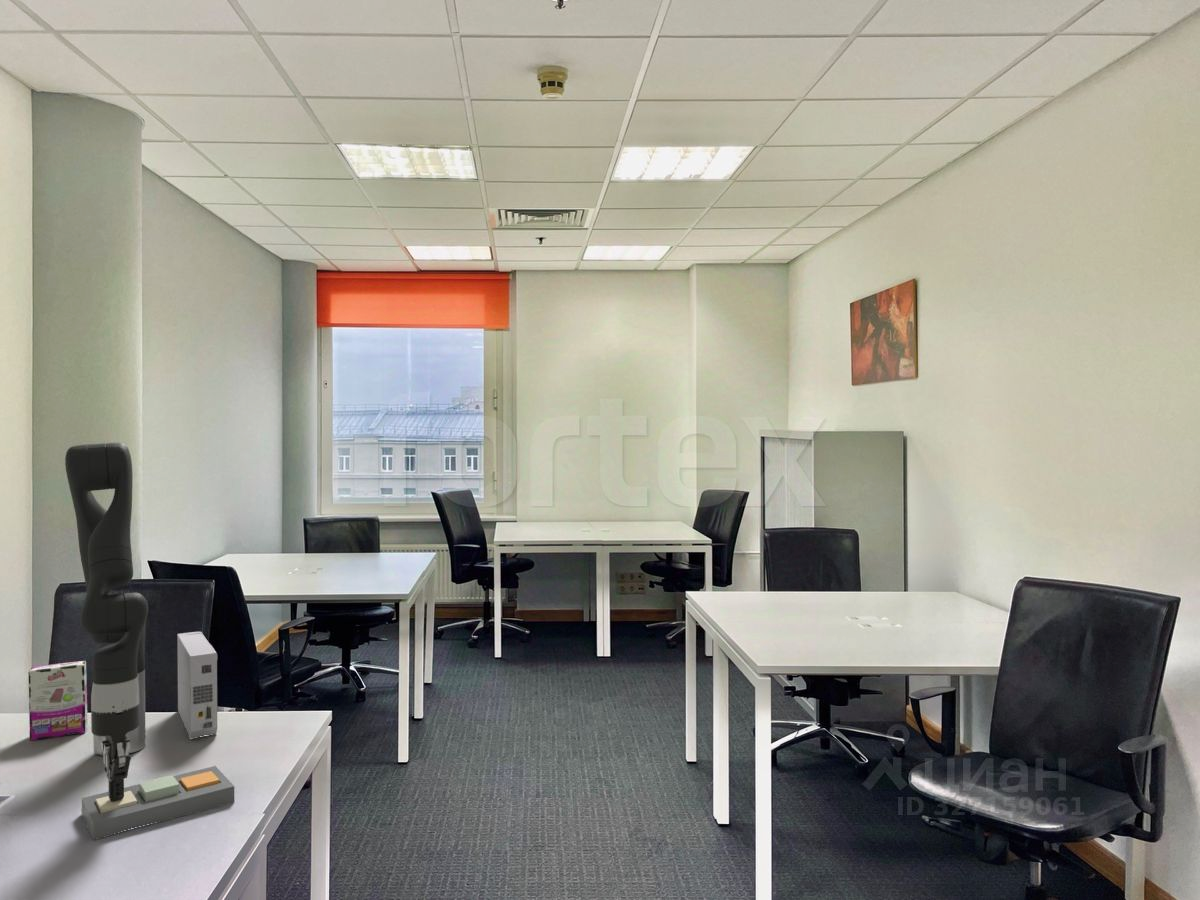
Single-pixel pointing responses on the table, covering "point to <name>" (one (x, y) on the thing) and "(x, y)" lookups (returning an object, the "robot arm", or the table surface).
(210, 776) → the orange key
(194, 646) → the game console
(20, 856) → the table surface
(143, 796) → the sage key
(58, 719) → the candy bar box
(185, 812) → the keypad
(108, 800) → the beige key
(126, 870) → the table surface
